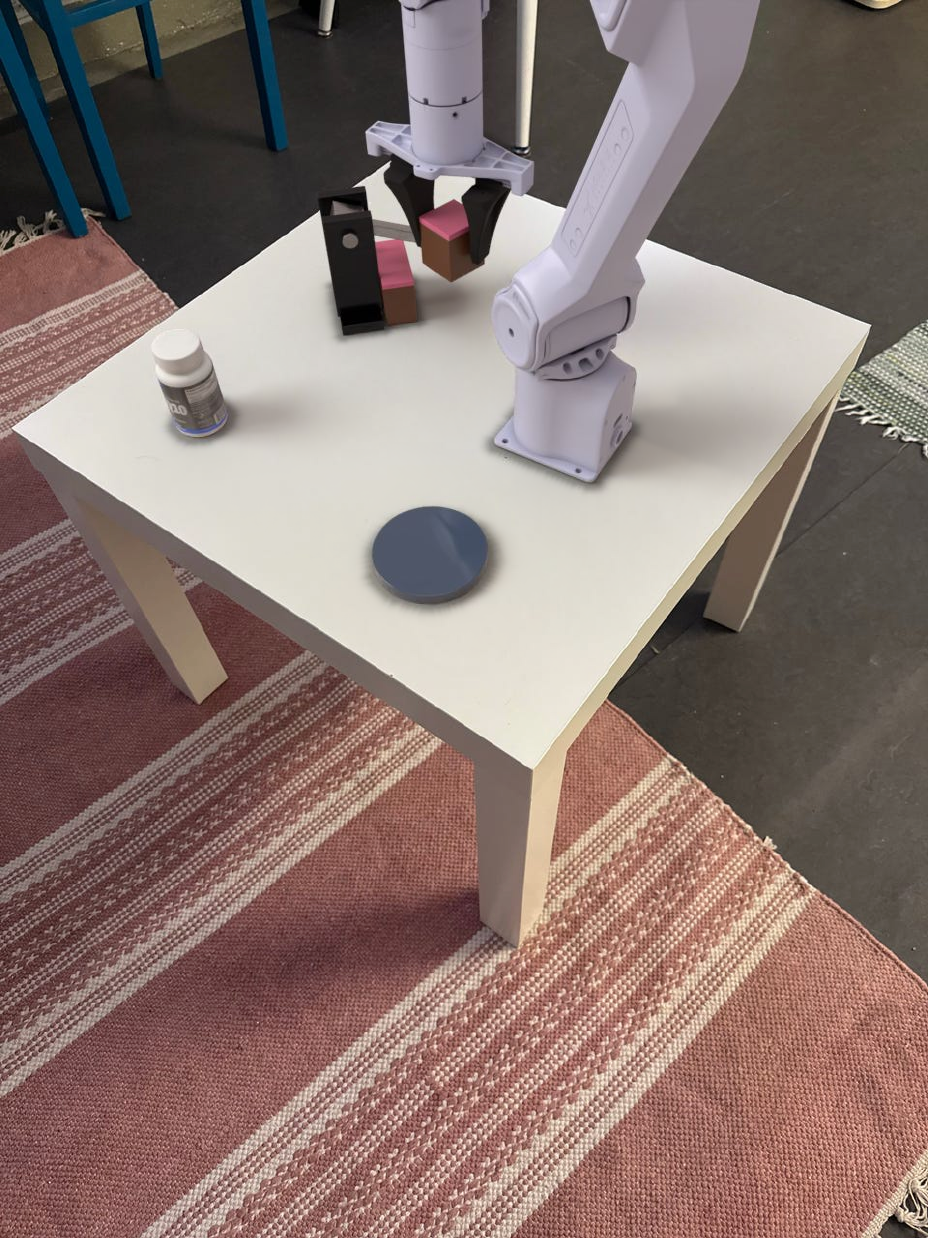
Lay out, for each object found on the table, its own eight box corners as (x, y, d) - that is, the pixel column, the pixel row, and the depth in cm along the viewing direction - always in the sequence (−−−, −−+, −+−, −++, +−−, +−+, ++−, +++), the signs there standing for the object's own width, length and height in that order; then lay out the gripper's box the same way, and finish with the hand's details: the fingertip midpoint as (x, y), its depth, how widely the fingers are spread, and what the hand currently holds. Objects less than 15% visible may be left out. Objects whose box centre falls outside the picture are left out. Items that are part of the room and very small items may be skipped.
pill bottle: (165, 418, 82) (135, 341, 75) (211, 394, 83) (185, 316, 77) (192, 447, 80) (164, 370, 73) (239, 421, 81) (215, 344, 74)
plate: (508, 541, 73) (509, 532, 72) (449, 622, 68) (448, 614, 68) (413, 498, 75) (412, 490, 75) (350, 574, 71) (349, 566, 70)
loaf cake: (406, 278, 92) (402, 237, 89) (417, 321, 89) (414, 280, 85) (377, 282, 92) (372, 241, 89) (386, 325, 88) (382, 285, 85)
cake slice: (455, 245, 84) (454, 198, 80) (485, 264, 82) (484, 217, 78) (422, 263, 82) (418, 216, 79) (451, 282, 80) (448, 236, 77)
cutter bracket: (375, 279, 93) (362, 176, 84) (386, 329, 88) (374, 225, 79) (332, 285, 92) (314, 182, 83) (341, 335, 88) (323, 232, 79)
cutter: (458, 248, 89) (467, 220, 86) (464, 266, 87) (473, 238, 85) (326, 225, 84) (332, 194, 82) (329, 244, 82) (336, 213, 80)
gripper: (336, 91, 70) (358, 251, 81) (505, 134, 66) (504, 297, 77) (385, 52, 73) (400, 211, 85) (548, 90, 69) (541, 252, 80)
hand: (452, 249), depth 81 cm, fingers closed on cake slice, 5 cm apart
